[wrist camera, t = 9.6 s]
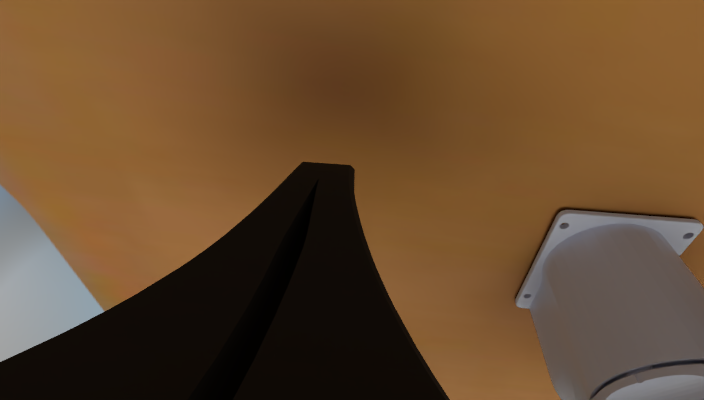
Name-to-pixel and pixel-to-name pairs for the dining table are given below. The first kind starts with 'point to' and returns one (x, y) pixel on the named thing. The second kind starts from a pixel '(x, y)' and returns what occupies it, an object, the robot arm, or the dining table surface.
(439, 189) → the dining table surface
